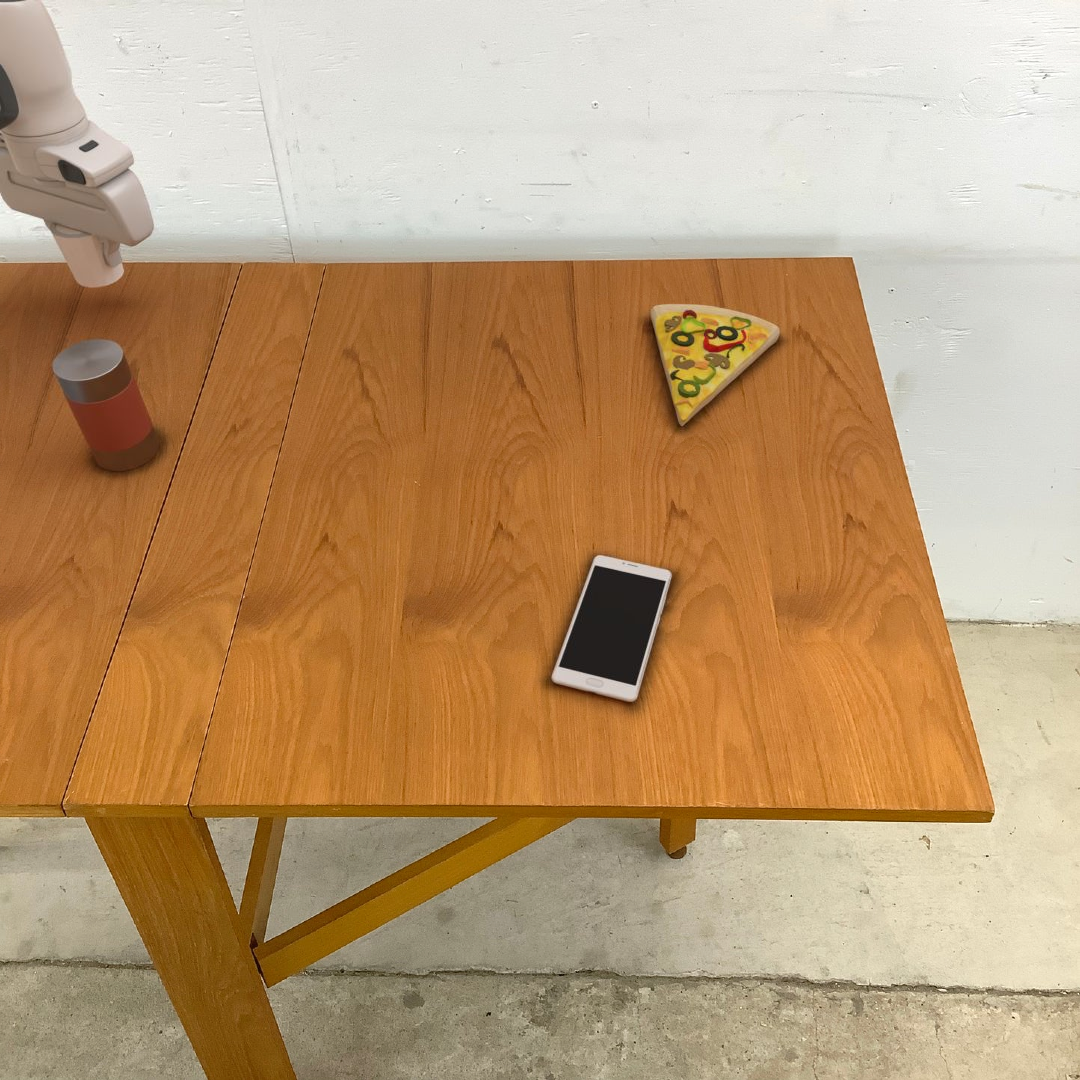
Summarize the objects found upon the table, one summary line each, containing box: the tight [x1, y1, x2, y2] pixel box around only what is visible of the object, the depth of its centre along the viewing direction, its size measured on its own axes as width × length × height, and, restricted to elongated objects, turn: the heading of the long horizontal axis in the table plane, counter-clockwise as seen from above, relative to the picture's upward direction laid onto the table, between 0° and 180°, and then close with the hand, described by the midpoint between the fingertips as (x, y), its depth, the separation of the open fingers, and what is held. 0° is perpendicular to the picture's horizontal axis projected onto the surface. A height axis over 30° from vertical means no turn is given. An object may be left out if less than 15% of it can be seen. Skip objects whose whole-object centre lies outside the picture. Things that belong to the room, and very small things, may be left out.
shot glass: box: [49, 222, 125, 288], centre depth 117 cm, size 7×7×7 cm
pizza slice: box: [649, 303, 781, 427], centre depth 111 cm, size 16×21×3 cm
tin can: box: [52, 338, 160, 472], centre depth 100 cm, size 7×7×12 cm
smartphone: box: [551, 554, 673, 703], centre depth 87 cm, size 8×1×15 cm
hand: (93, 257), depth 117 cm, fingers closed on shot glass, 5 cm apart
